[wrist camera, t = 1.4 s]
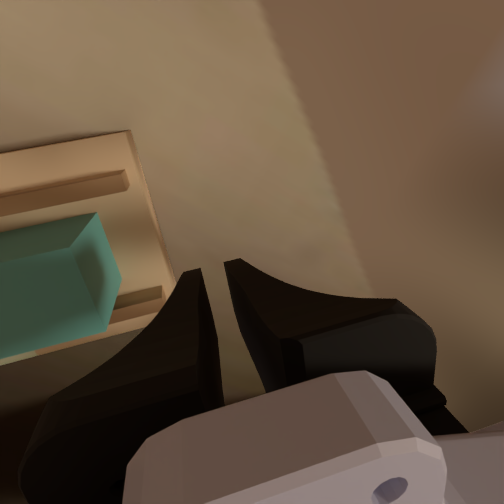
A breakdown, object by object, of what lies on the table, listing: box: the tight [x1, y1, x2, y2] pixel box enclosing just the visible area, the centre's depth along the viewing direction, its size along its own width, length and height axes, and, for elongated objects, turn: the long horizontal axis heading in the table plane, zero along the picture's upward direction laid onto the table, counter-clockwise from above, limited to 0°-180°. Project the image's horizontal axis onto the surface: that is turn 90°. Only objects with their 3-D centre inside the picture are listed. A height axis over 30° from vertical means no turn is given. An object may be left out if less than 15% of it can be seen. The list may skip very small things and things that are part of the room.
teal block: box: [0, 212, 122, 359], centre depth 15 cm, size 4×5×5 cm
